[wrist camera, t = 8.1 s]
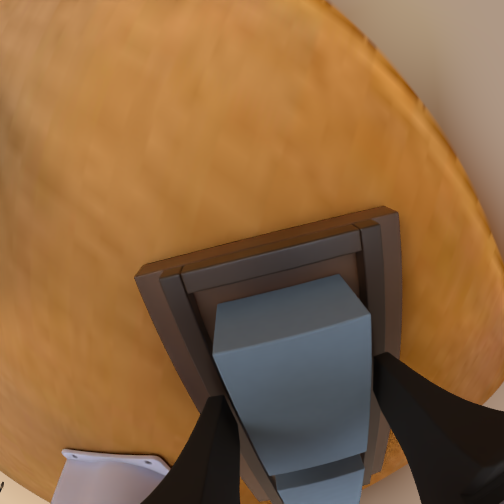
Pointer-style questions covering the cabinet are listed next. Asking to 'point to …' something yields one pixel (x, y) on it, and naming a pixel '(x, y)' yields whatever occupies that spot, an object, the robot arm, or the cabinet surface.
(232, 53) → the cabinet surface
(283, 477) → the blue-grey rectangular block
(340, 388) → the loose pad
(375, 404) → the dark brown wooden tray
